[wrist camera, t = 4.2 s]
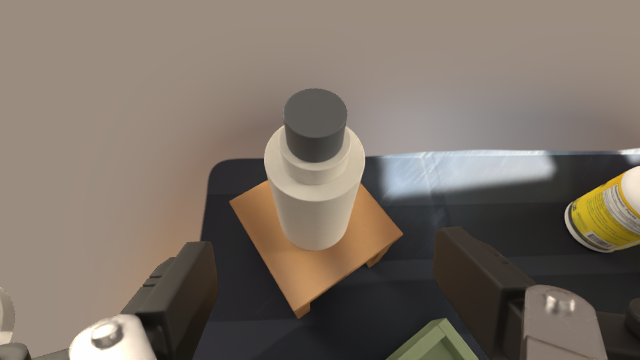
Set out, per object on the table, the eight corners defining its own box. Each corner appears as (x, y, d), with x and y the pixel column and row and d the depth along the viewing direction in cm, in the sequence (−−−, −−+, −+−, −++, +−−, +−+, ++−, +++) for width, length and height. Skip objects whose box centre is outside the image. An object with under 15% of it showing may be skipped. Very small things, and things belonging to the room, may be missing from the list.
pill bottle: (608, 202, 35) (720, 149, 26) (630, 255, 32) (765, 218, 23) (554, 199, 36) (645, 144, 26) (571, 251, 33) (680, 211, 23)
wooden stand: (299, 321, 29) (293, 312, 21) (249, 236, 33) (228, 201, 25) (380, 261, 32) (403, 234, 24) (326, 189, 36) (329, 145, 28)
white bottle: (304, 265, 22) (295, 188, 11) (267, 208, 25) (230, 98, 14) (361, 226, 24) (403, 125, 13) (323, 176, 26) (330, 53, 15)
